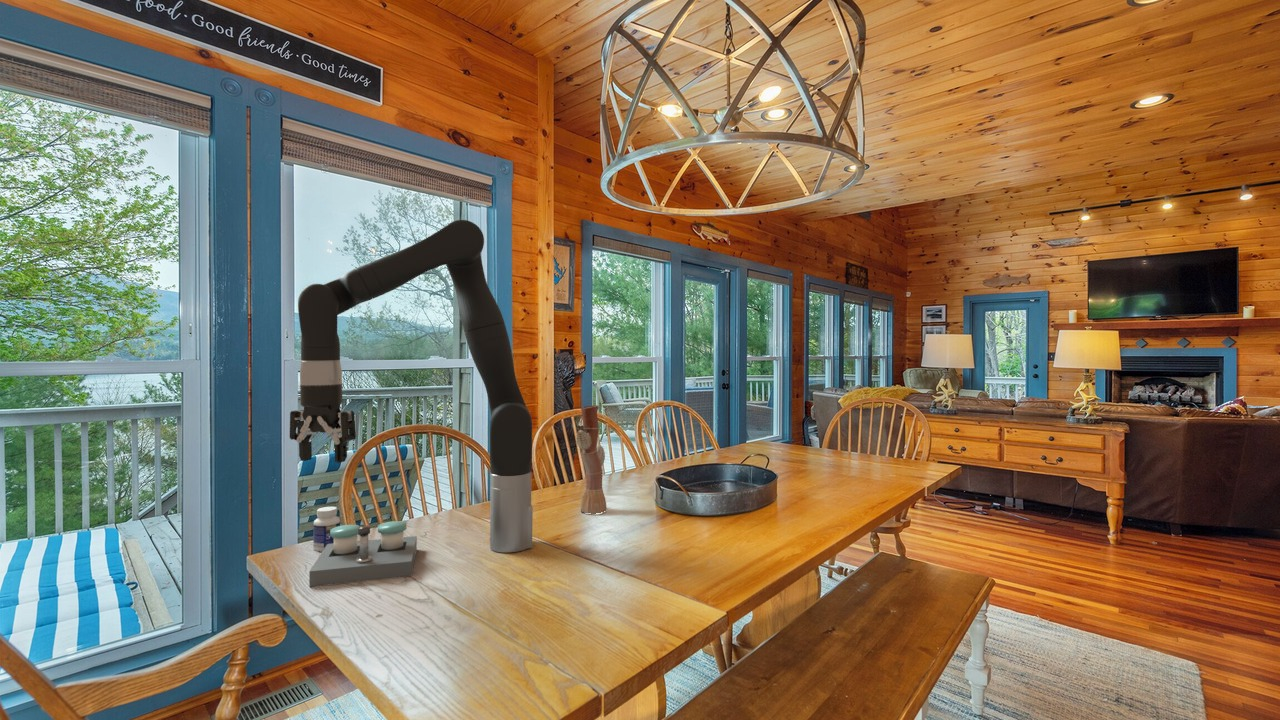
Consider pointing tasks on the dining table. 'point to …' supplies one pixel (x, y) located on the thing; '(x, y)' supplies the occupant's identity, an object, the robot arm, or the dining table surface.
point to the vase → (591, 461)
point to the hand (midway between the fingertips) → (323, 461)
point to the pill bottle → (324, 527)
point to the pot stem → (364, 544)
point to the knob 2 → (392, 534)
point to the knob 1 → (345, 538)
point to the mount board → (363, 564)
